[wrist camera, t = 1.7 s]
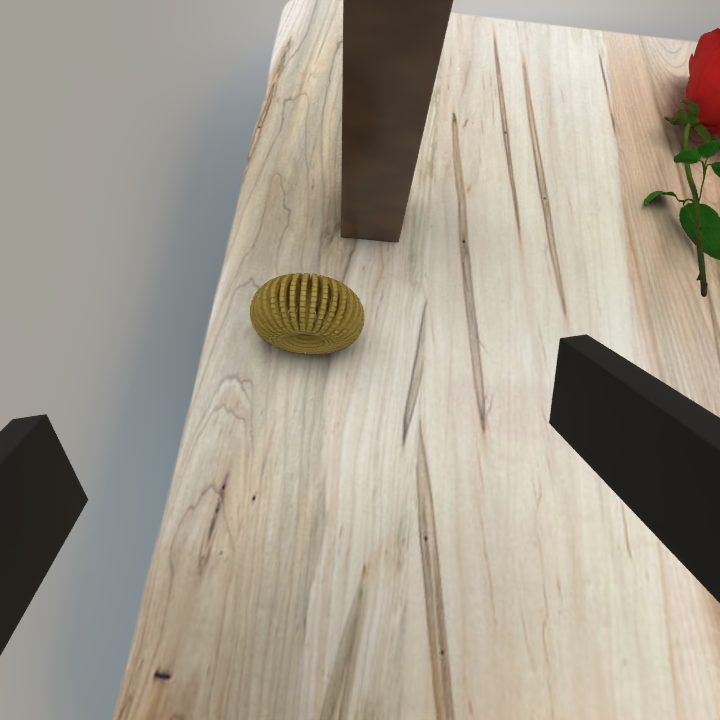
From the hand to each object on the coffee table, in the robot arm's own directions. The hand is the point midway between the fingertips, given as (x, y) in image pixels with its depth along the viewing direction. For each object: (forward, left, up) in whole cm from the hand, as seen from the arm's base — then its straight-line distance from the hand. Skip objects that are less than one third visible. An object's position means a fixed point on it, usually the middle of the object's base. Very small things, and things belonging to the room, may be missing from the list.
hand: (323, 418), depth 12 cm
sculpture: (-3, +10, -21) cm, 24 cm away
